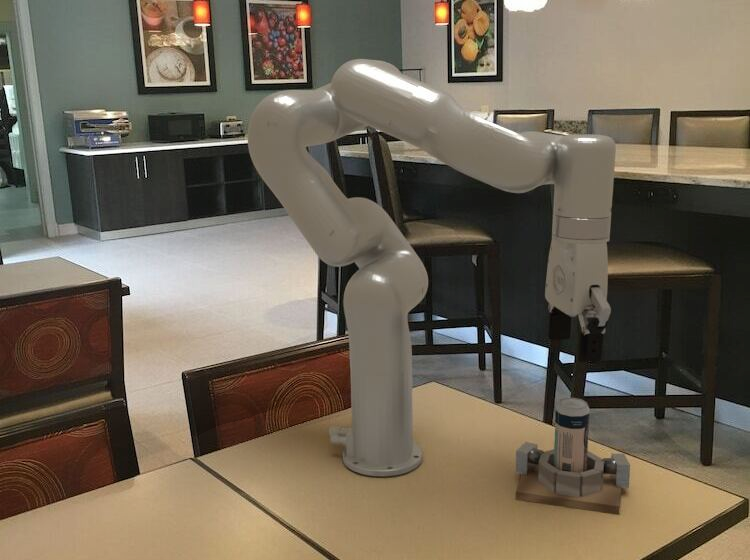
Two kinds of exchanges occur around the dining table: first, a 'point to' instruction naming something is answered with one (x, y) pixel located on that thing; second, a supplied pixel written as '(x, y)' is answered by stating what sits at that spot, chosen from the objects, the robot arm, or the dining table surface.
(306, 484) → the dining table surface
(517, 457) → the shaft in
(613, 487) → the octagonal gimbal ring stand
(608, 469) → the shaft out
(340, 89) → the robot arm
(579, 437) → the beer can
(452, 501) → the dining table surface
